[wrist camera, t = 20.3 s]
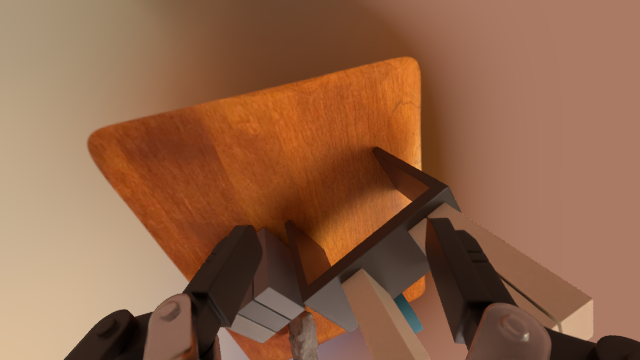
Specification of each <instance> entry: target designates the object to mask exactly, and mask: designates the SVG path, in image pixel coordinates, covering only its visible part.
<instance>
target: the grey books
mask: <svg viewBox="0 0 640 360" xmlns="http://www.w3.org/2000/svg"><path fill="white" fill-rule="evenodd" d="M257 236H258V238H259V241H260V243H261V246H262V249H263V255H262V260H261V262H260V264H259V266H258V269H257V271H256V273H255V275H254V277H253V280H252V282H251V284H250V286H249V289H248V291H247V293H246V295H245V297H244V300H243V302H242V304H241V306H240V309H239V311H238V313H237V315H236V317H235V320H234V322H233V324H232V326H231V328H228V327H225V328H227V329H229V330H232V331H234V332H236V333H239V334H241V335H243V336H246V337H248V338H250V339H253V340H255V341H257V342H260V343H262V344H263V343H264V342H265V341H267V340H268V339H269V338H270V337H272V336H273V335H274V334H275V333H276V332H278V331H279V330H280V329H282V328H283V327H284V326H285V325H287V324H288V323H289V322H290V321H291V320H293V319H294V318H295V317H297V316H298V315H299V314H300V313H302V312H303V311H304V310H305V305H304V304H303V302H302V298H301V294H300V290H299V285H298V281H297V277H296V272H295V268H294V264H293V259H292V255H291V250H290V247H289V246H287V245H286V244H285V243H283V242H282V241H281V240H280V239H278V238H277V237H276V236H275V235H273V234H272V233H271V232H269V231H268V230H267V229H266V228H264V227H263V228H262V229H261V230H260V231H258V232H257ZM290 319H291V320H290Z"/></svg>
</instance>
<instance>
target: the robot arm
mask: <svg viewBox="0 0 640 360" xmlns="http://www.w3.org/2000/svg"><path fill="white" fill-rule="evenodd" d="M425 252H426V257H427V261H428V264H429V267H430V270H431V273H432V276H433V278H434V282H435V285H436V288H437V291H438V294H439V297H440V300H441V303H442V306H443V308H444V312H445V315H446V318H447V321H448V324H449V327H450V330H451V333H452V336H453V339H454V342H455V343H462V344H466V346H467V349H468V354H467V357H466V360H640V342H638V341H635V340H633V339H629V338H626V337H622V336H611V335H610V336H605V337H602V338H601V339H600V340H599V341H598V342H597V343H593V342H589V341H586V340H583V339H580V338H577V337H573V336H570V335H567V334H563V333H560V332H557V331H554V330H552V329H549V328H547V327H545V326H543V325H542V324H541V323H540V322H539V321H538V320H537V319H536V318H535V317H534V316H532V315H531V314H530V313H528V312H527V311H525V310H523V309H521V308H519V307H518V305H517V304H516V303H515V301H514V300H513V298H512V296H511V295H510V293H509V292H508V290H507V288H506V287H505V285H504V283H503V282H502V280H501V279H500V277H499V275H498V274H497V272H496V271H495V269H494V267H493V266H492V264H491V263H489V259H488V258H487V256H486V255H485V253H483V250H482V248H481V247H480V245H479V243H478V242H477V240H476V239H475V238H474V237H473V236H471V235H470V234H469V233H468V232H466V231H465V230H455V229H454V227H453V225H452V223H451V221H450V220H449V218H447V217H446V218H428V219H427V224H426V238H425ZM262 255H263V249H262V246H261V243H260V241H259V238H258V236H257V233H256V231H255V228H254V227H253V226H252V225H238V226H235V227H234V228H233V230H232V231H231V233H230V234H229V236H226V237H225V238H224V239H223V240H221V241H220V242H219V243H218V244H217V245H216V246H215V248H214V249H213V251H212V252H211V255H209V256H208V258H207V259H206V260H205V263H203V265H202V266H201V267H200V269H199V270H198V272H197V273H196V274H195V276H194V277H193V279H192V280H191V281H190V283H189V284H188V286H187V287H186V289H185V290H184V291H183V293H181V294H176V295H174V296H171V297H170V298H168V299H166V300H165V301H164V302H162V303H161V304H160V305H159V306H158V307H157V308H156V309H155V311H154V312H150V313H147V314H143V315H140V316H136V317H134V316H133V315H132V314H131V313H130V312H129V311H128V310H124V309H123V310H118V311H115V312H113V313H111V314H109V315H108V316H106V317H104V318H103V319H102V320H100V321H99V322H98V323H97V324H96V325H95V326H94V327H93V328H92V329H91V330H90V331H89V332H88V333H87V334H86V336H85V337H84V338H83V339H82V340H81V341H80V342H79V343H78V344H77V346H76V347H75V348H74V349H73V350H72V351H71V352H70V353H69V354H68V356H67V357H66V358H65V359H64V360H221V353H220V345H219V338H218V335H217V333H218V330H219V328H220V327H228V328H231V326H232V324H233V322H234V320H235V317H236V315H237V313H238V311H239V309H240V306H241V304H242V302H243V300H244V297H245V295H246V293H247V291H248V289H249V286H250V284H251V282H252V280H253V277H254V275H255V273H256V271H257V269H258V266H259V264H260V262H261V260H262Z"/></svg>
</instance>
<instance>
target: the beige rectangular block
mask: <svg viewBox="0 0 640 360" xmlns="http://www.w3.org/2000/svg"><path fill="white" fill-rule="evenodd" d="M341 286H342V288H343V290H344V293H345V295H346V297H347V299H348V302H349V304H350V306H351V309H352V311H353V313H354V316H355V318H356V320H357V322H358V325H359V327H360V329H361V332H362V334H363V336H364V338H365V341H366V343H367V345H368V348H369V350H370V352H371V355H372V357H373V359H374V360H431V358H430V357H429V355H428V354H427V352H426V350H425V349H424V347H423V346H422V344H421V343H420V341H419V339H418V338H417V336H416V335H415V333H414V332H413V330H412V328H411V327H410V325H409V324H408V322H407V321H406V319H405V318H404V316H403V314H402V313H401V311H400V310H399V308H398V307H397V305H396V303H395V302H394V300H393V299H392V297H391V296H390V294H389V293H388V292H387V291H386V290H385V289H384V288H383V287H381V286H380V285H379V284H378V283H377V282H376V281H375V280H374V279H373V278H372V277H371V276H370V275H369V274H368V273H367V272H366V271H365V270H363V269H362V268H361V269H360V270H359V271H357V272H356V273H355V274H354V275H352V276H351V277H350V278H349V279H347V280H346V281H345V282H344V283H342V284H341Z"/></svg>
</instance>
